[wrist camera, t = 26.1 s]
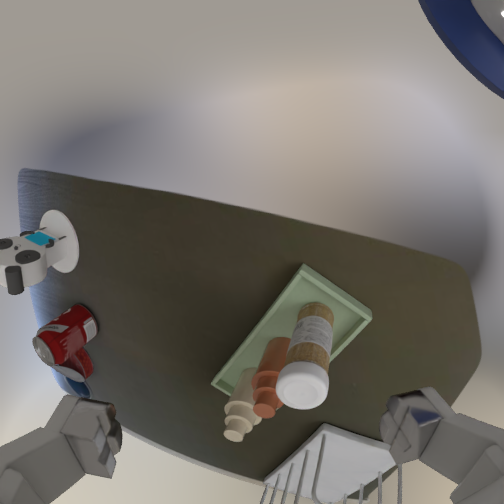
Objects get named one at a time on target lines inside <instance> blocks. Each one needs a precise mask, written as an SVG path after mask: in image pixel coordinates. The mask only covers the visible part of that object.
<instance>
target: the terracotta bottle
mask: <svg viewBox="0 0 504 504" xmlns="http://www.w3.org/2000/svg"><path fill="white" fill-rule="evenodd" d="M290 341H291V339H290V338H287V337H277V338H274V339H272V340H270V341H269V342H268V343H267V345H266V347H265V350H264V352H263V354H262V357H261V359H260V362H259V364H258V366H257V369H256V371H255V373H254V376H253V378H252V381H251V385H252V388H253V390H254V392H253V395H252V396H253V400H254V401H255V404H254V406H253V411H254V413H255V414H256V415H257V416H259V417H262V418H271V417H273V416H274V415H275V412H276V409H277V408H280V407H281V406H282V405H283V404H284V403H283V402H282V401H281V400H280V399H279V398H278V396H277V394H276V383H277V380H278V376H279V373H280V371H281V370H282V368H283V367H284V364H285V360H286V354H287V351H288V348H289V344H290Z"/></svg>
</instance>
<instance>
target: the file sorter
mask: <svg viewBox="0 0 504 504" xmlns="http://www.w3.org/2000/svg"><path fill="white" fill-rule="evenodd" d="M389 449H390V445H389V444H387V443H383V442H380V441H377V440H373V439H370V438H367V437H364V436H361V435H358V434H355V433H352V432H349V431H346V430H343V429H340V428H337V427H335V426H332V425H329V424H327V423H323V424H322V425H321V426H320V427H319V428H318V429H317V430H316V431H315V432H314V433H313V434H312V435H311V436H310V437H309V438H308V439H307V440H306V441H305V442H304V443H303V444H302V445H301V446H300V447H299V448H298V449H297V450H296V451H295V452H294V453H293V454H291V455H290V456H289V457H288V458H287V459H286V460H285V461H284V462H283V463H281V464H280V465H279V466H278V467H277V468H276V469H275V470H273V471H272V472H271V473H270V474H269V475H268V476H266V477H265V479H264V482H263V484H265V485H266V488H265V491H264V493H263V496H262V499H261V502H260V504H263V502H264V499H265V496H266V494H267V490H268V487H269V486H271V487H274V491H273V494H272V497H271V501H270V503H269V504H273V501H274V498H275V495H276V492H277V489H280V490H283V491H284V493H283V497H282V501H281V504H284V503H285V499H286V495H287V492H289V493H292V494H295V495H296V496H295V501H294V504H298V501H299V497H300V496H302V497H305V498H309V499H312V500H313V501H314V503H315V504H322V503H321V502H324V503H328V504H334V503H336V502H338V501H339V500H341V499H343V498H344V501H343V504H346V500H347V496H348V495H350V494H352V493H353V492H355V491H357V490H358V489H360V496H359V504H362V500H363V486H365V485H366V484H368V483H370V482H371V481H373V480H374V479H376V478H377V477H378V504H382V474H383V473H384V472H386V471H387V470H389V469H390V468H391V467H393V466H394V465H396V463H395V461H394V459H393V458H392V456H391V454H390V452H389ZM398 504H402V464H399V465H398Z"/></svg>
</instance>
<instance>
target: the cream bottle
mask: <svg viewBox="0 0 504 504" xmlns="http://www.w3.org/2000/svg"><path fill="white" fill-rule="evenodd" d="M256 369H257V368H247V369H245V370H244V371H243V372H242V373H241V375H240V377H239V379H238V381H237V383H236V385H235V387H234V389H233V391H232V393H231V395H230V397H229V399H228V401H227V403H226V405H225V413H226V415H227V416H226V418H225V424H226V425H227V427H226V429H225V431H224V436H225V437H226V438H227V439H229V440H231V441H234V442H240V441H242V440H243V438H244V435H245V433H248V432H250V431H251V430H252V428H253V425H256V424H258V423H260V421H261V420H262V417H259V416H257V415H256V414H255V413H254V411H253V406H254V404H255V401H254V400H253V396H252V395H253V392H254V390H253V388H252V385H251V381H252V378H253V376H254V373H255V371H256Z"/></svg>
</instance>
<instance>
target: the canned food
mask: <svg viewBox="0 0 504 504" xmlns="http://www.w3.org/2000/svg"><path fill="white" fill-rule="evenodd" d="M50 367H52V368H54V369H55V370H56V371H58V372H60V373H61V374H63V375H64V376H66V377H69V378H70V379H72V380H75V381H77V382H83V381H85V379H87V378H88V377H89V376H90V375H91V374H92V373H93V369H94V368H93V363H92V361H91V358H90V357H89V355H88V353H87V352H86V350H85V349H84V348H83V347H81V348H80V349H79V350H78V351H77V352H75V353H74V354H73V355H72V356H71V357H69V358H68V359H67V360H66V361H65V362H63V363H62V364H59V366H58V365H54V366H50Z"/></svg>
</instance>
